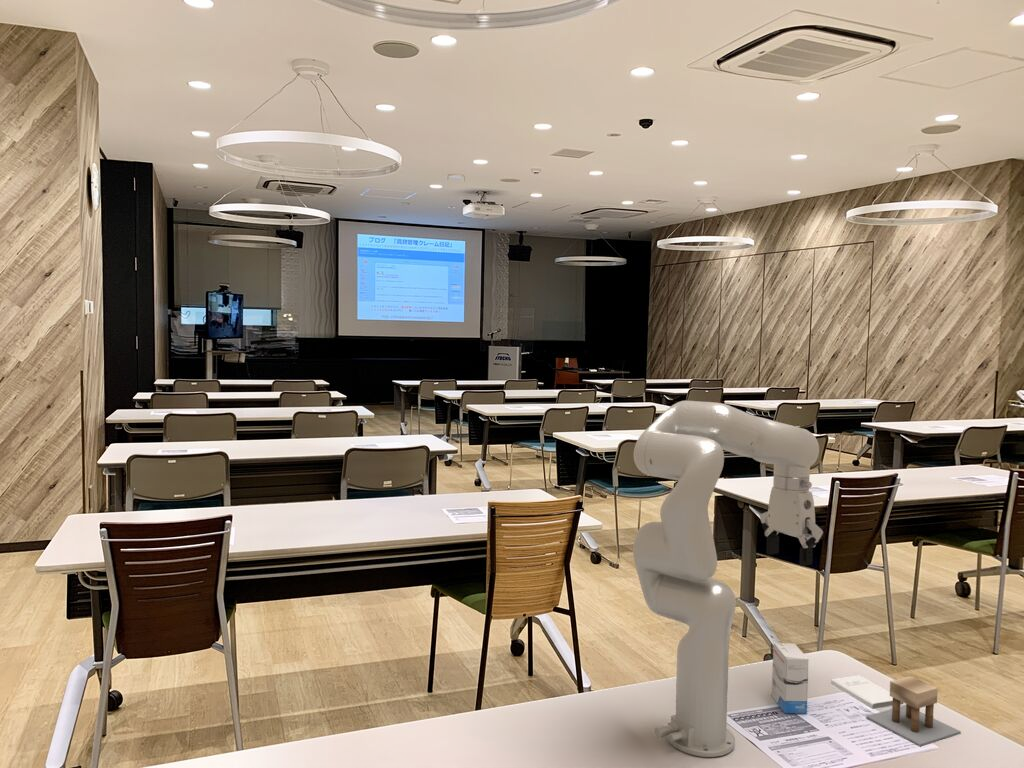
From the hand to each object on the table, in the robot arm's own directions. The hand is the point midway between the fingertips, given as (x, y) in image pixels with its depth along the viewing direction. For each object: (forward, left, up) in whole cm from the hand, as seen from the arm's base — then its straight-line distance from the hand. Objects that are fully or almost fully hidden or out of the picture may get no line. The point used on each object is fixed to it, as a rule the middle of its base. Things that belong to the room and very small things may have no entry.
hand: (788, 559), depth 168 cm
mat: (+9, -25, -28) cm, 39 cm away
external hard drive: (+13, -11, -29) cm, 34 cm away
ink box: (-7, -8, -28) cm, 30 cm away
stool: (+9, -25, -28) cm, 39 cm away
